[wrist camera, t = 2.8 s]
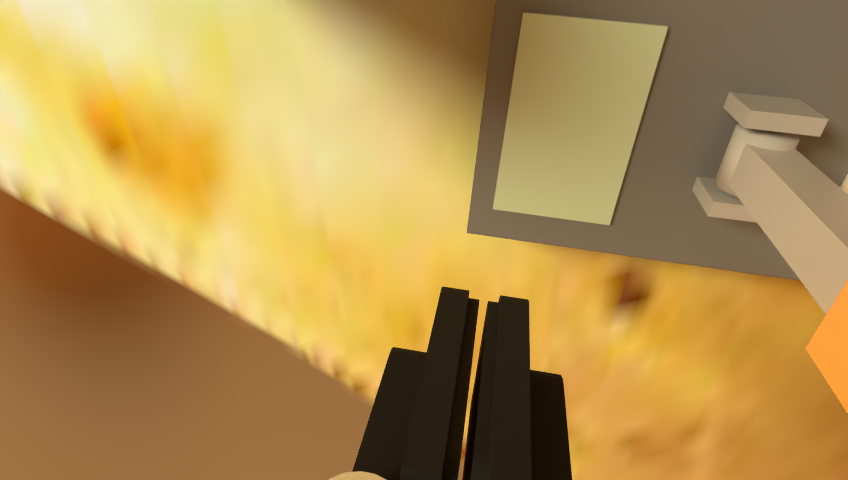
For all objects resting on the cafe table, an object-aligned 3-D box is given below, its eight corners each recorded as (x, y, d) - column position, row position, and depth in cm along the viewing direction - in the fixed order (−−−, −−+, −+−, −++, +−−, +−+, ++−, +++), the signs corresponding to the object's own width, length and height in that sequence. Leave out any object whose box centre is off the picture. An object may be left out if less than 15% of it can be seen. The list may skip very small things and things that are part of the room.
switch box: (505, -45, 22) (498, -33, 16) (1047, 1, 19) (1237, 32, 14) (474, 194, 27) (461, 259, 22) (887, 249, 25) (981, 336, 20)
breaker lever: (726, 107, 19) (930, 302, 9) (796, 115, 19) (1080, 324, 9) (698, 182, 21) (847, 414, 11) (762, 190, 20) (973, 434, 11)
